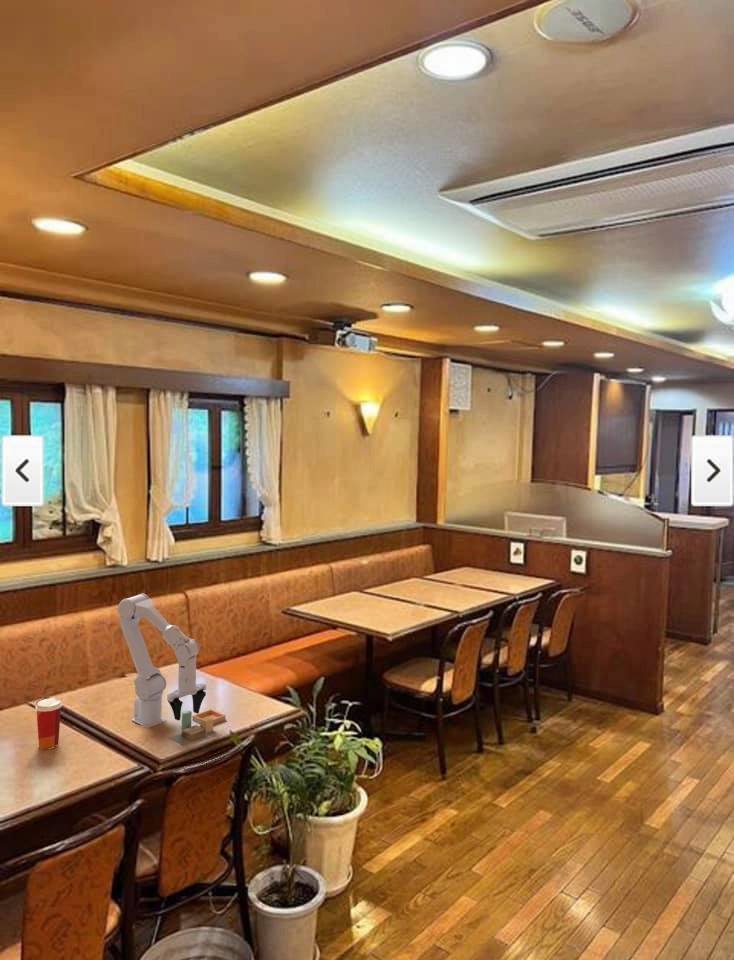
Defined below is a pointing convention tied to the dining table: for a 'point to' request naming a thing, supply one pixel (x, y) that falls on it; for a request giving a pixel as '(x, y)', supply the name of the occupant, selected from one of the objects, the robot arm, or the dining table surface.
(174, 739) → the bench
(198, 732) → the brown rectangular block
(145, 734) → the dining table surface
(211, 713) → the tray
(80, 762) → the dining table surface
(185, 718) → the dowel
